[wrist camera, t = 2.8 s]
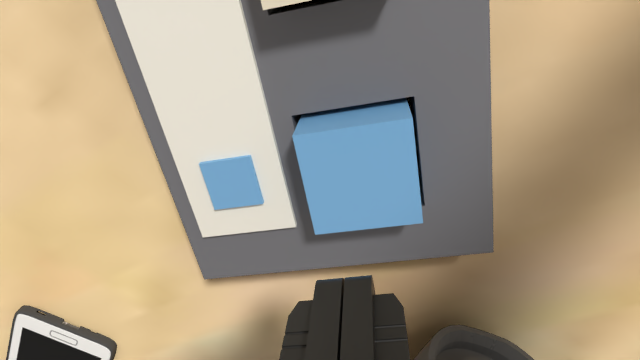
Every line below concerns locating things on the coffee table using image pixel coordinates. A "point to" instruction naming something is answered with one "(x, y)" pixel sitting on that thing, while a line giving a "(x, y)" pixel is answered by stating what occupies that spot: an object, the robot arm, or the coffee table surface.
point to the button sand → (278, 3)
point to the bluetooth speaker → (469, 346)
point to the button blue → (359, 166)
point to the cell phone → (54, 339)
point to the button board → (299, 98)
